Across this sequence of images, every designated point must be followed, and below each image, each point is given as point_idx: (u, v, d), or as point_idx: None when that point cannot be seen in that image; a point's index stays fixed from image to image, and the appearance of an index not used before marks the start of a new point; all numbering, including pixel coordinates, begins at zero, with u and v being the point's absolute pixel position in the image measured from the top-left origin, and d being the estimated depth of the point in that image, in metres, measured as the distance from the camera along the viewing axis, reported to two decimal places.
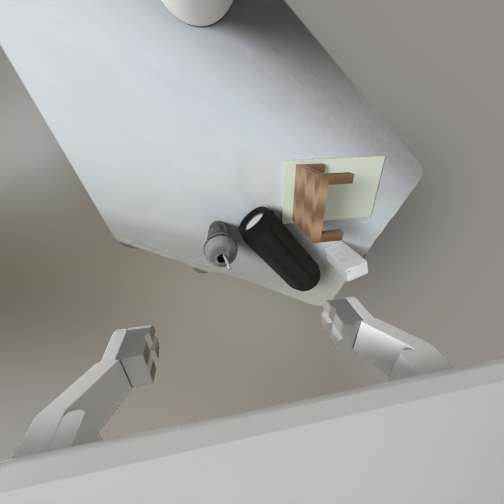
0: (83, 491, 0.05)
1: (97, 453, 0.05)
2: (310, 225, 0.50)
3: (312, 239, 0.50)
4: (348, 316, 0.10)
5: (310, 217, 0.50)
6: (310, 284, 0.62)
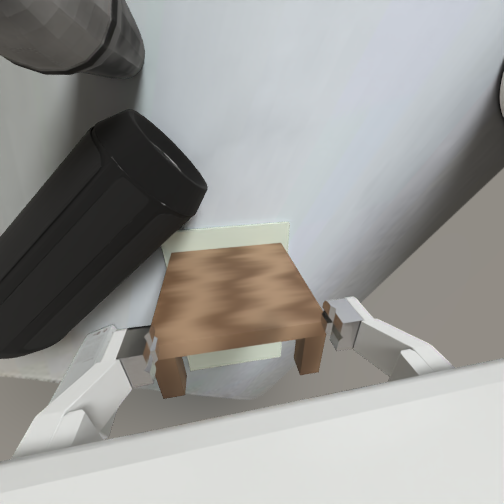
0: (83, 491, 0.05)
1: (97, 453, 0.05)
2: (190, 316, 0.19)
3: None
4: (348, 316, 0.10)
5: (211, 310, 0.20)
6: None
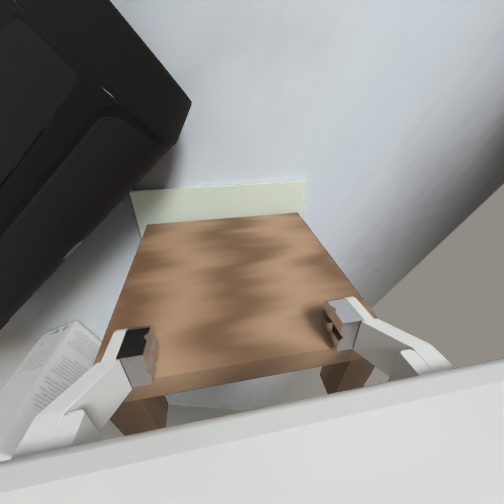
0: (83, 491, 0.05)
1: (97, 453, 0.05)
2: (168, 329, 0.12)
3: None
4: (348, 316, 0.10)
5: (201, 317, 0.12)
6: None
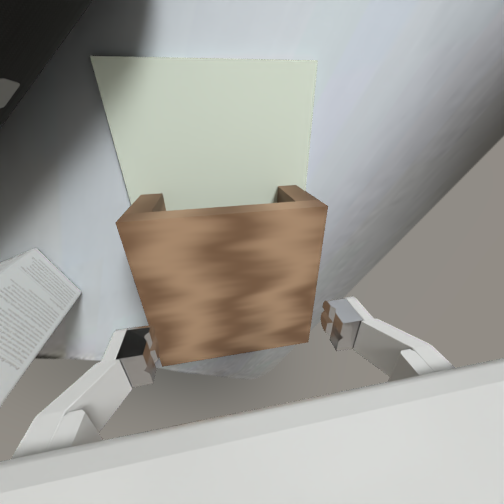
0: (83, 491, 0.05)
1: (97, 453, 0.05)
2: (192, 343, 0.20)
3: (166, 360, 0.21)
4: (348, 316, 0.10)
5: (211, 336, 0.20)
6: None
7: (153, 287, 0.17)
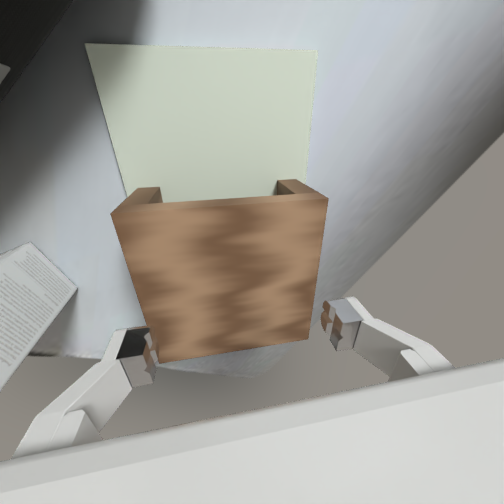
0: (83, 491, 0.05)
1: (97, 453, 0.05)
2: (190, 339, 0.20)
3: (164, 357, 0.20)
4: (348, 316, 0.10)
5: (209, 332, 0.20)
6: None
7: (149, 281, 0.17)
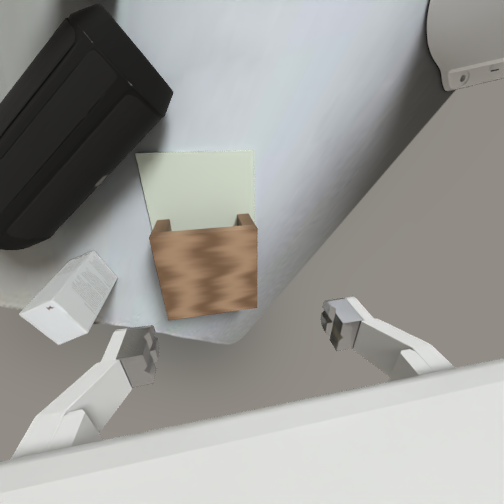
0: (83, 491, 0.05)
1: (97, 453, 0.05)
2: (186, 305, 0.35)
3: (171, 316, 0.36)
4: (348, 316, 0.10)
5: (197, 301, 0.35)
6: None
7: (165, 271, 0.32)
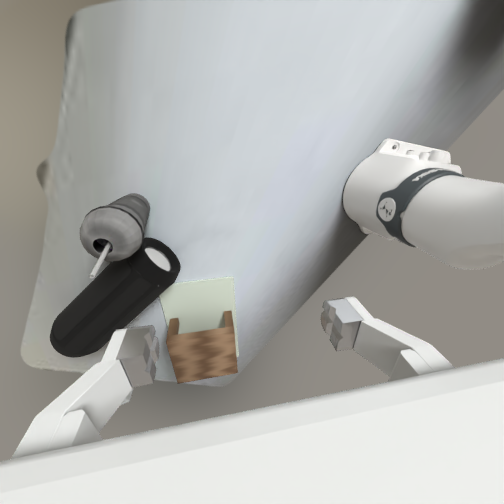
0: (83, 491, 0.05)
1: (97, 453, 0.05)
2: (189, 374, 0.53)
3: (179, 381, 0.54)
4: (348, 316, 0.10)
5: (197, 372, 0.53)
6: (69, 352, 0.41)
7: (176, 357, 0.50)
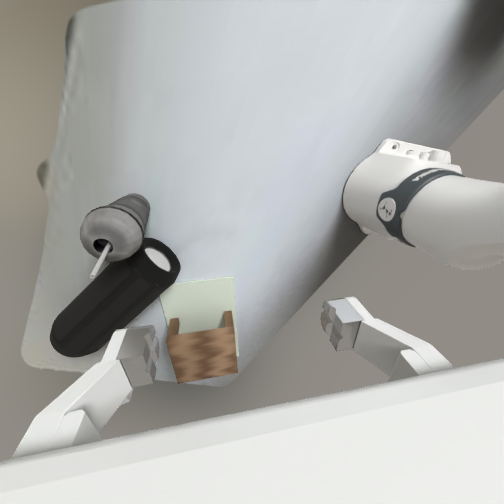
0: (83, 491, 0.05)
1: (97, 453, 0.05)
2: (190, 374, 0.53)
3: (179, 381, 0.54)
4: (348, 316, 0.10)
5: (197, 372, 0.53)
6: (69, 352, 0.41)
7: (176, 357, 0.50)
